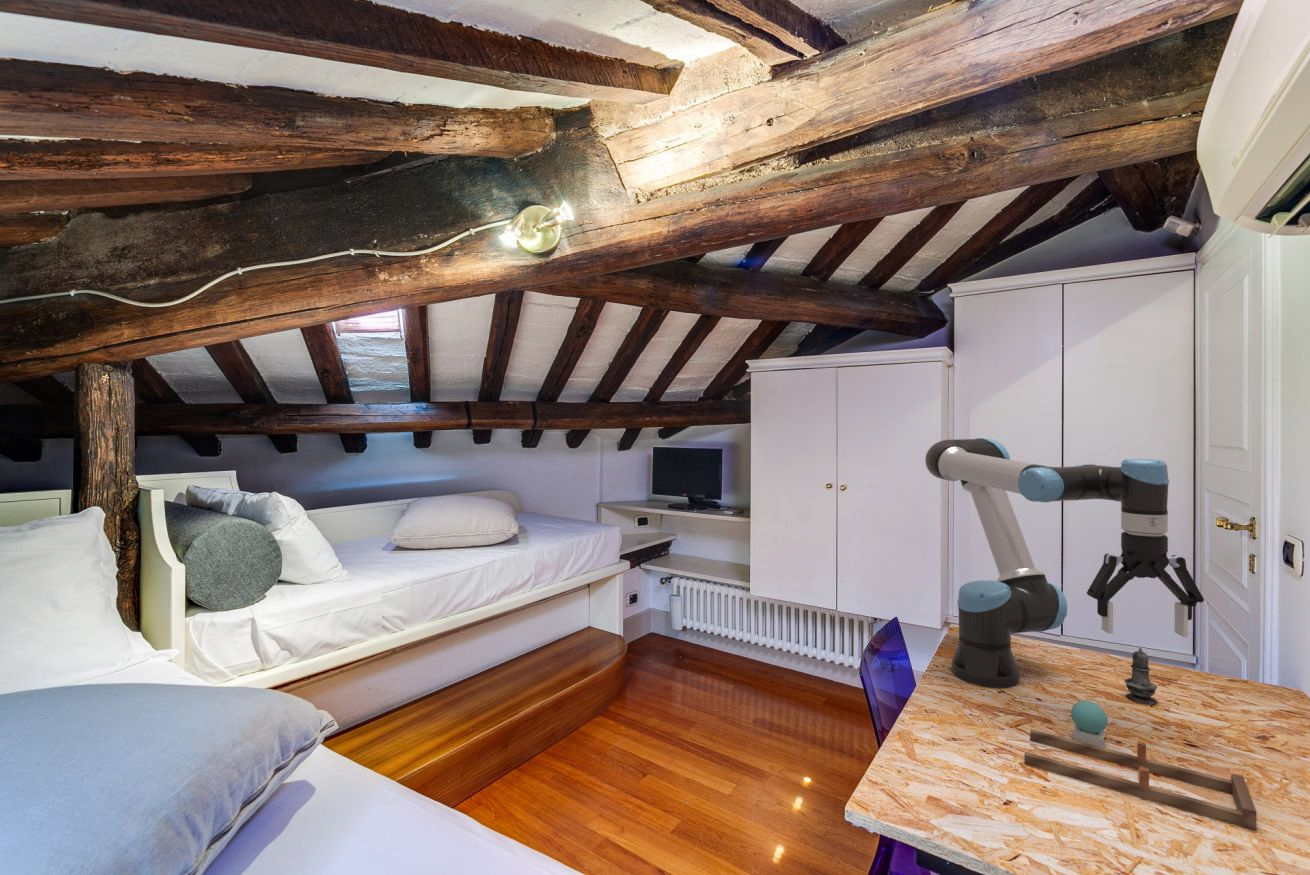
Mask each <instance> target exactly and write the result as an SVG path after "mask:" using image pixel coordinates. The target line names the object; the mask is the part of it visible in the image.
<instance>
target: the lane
mask: <svg viewBox="0 0 1310 875" xmlns="http://www.w3.org/2000/svg"><path fill="white" fill-rule="evenodd" d="M1029 741H1031V742H1033V743H1038V744H1042V745H1045V746H1049V747H1053V748H1057V749H1060V750H1061V749H1062V750H1065V751H1068V752H1072V753H1076V754H1078V755H1083V756H1087V757H1091V758H1095V759H1099V760H1102V761H1107V762H1110V763H1115V764H1117V765H1121V766H1125V767H1128V768H1132V769H1136V770H1137V775H1138V777H1137V778H1138V782H1136V781H1133V780H1130V779H1126V778H1123V777H1119V776H1114V775H1111V774H1109V773H1104V772H1101V771H1098V770H1093V769H1090V768H1086V767H1081V766H1078V765H1075V764H1072V763H1071V764H1070V763H1067V762H1063V761H1061V760H1057V759H1053V758H1050V757H1047V756H1043V755H1038V754H1034V753H1031V752H1028V751H1025V752H1024V755H1023V756H1024V760H1023V761H1024V762H1023V763H1024V765H1027V766H1031V767H1034V768H1037V769H1041V770H1045V771H1049V772H1052V773H1055V774H1059V775H1062V776H1066V777H1069V778H1071V779H1072V778H1073V779H1076V780H1080V781H1083V782H1087V783H1090V784H1094V785H1097V786H1100V787H1103V788H1107V789H1111V790H1114V791H1118V792H1122V793H1125V794H1129V795H1132V796H1134V797H1139V798H1142V799H1145V800H1149V801H1152V802H1156V803H1160V804H1164V805H1167V806H1170V807H1174V808H1177V809H1181V810H1185V811H1186V812H1187V811H1188V812H1191V813H1194V814H1198V815H1202V816H1205V817H1209V818H1211V819H1212V818H1213V819H1215V820H1219V821H1222V822H1225V823H1230V824H1232V825H1236V826H1239V827H1243V828H1247V829H1250V830H1253V831H1257V823H1258V822H1257V809H1256V806H1255V804H1254V800H1253V799H1252V798H1253V797H1252V795H1251V793H1250V790H1249V788H1248V785H1247V783H1246V780H1245V777H1244V775H1243V776H1242V775H1239V774H1236V773H1235V774H1234V773H1230V777H1231V778H1230V779H1228V778H1223V777H1220V776H1216V775H1212V774H1207V773H1204V772H1200V771H1196V770H1192V769H1190V768H1189V769H1188V768H1185V767H1181V766H1176V765H1173V764H1168V763H1165V762H1161V761H1157V760H1152V759H1149V758H1147V744H1146V742H1145V741H1141V740H1137V741H1136V742H1137V743H1136V745H1137V749H1136V750H1137V751H1136V752H1137V754H1136V755H1133V754H1129V753H1127V752H1122V751H1116V750H1114V749H1110V748H1106V747H1104V748H1102V747H1098V746H1094V745H1090V744H1087V743H1083V742H1079V741H1075V740H1074V739H1070V738H1066V737H1062V736H1058V735H1054V734H1050V733H1046V732H1042V731H1038V730H1035V729H1030V731H1029ZM1150 773H1151V774H1155V775H1160V776H1164V777H1166V778H1171V779H1175V780H1179V781H1182V782H1185V783H1190V784H1193V785H1197V786H1200V787H1205V788H1208V789H1213V790H1215V791H1220V792H1222V793H1224V792H1225V793H1228V794H1231V795H1232V797H1233V800H1234V803H1235V805H1236V808H1237V809H1235V808H1231V807H1228V806H1224V805H1220V804H1217V803H1212V802H1208V801H1205V800H1202V799H1198V798H1194V797H1192V796H1189V795H1183V794H1180V793H1177V792H1173V791H1170V790H1167V789H1166V790H1165V789H1162V788H1158V787H1155V786H1150Z"/></svg>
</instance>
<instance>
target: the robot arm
mask: <svg viewBox="0 0 1310 875" xmlns="http://www.w3.org/2000/svg"><path fill="white" fill-rule="evenodd" d="M924 458H925V460H924V461H925V466H926V468H927V471H928V472H929V473H930V475H931V476H934V477H935V478H937V479H940V480H944V481H950V482H957V481H960V484H961V486H962V490H964V491H966V492H969V493H970V495H971V497H972V500H973V503H974V506H975V509H976V511H977V514H978V518H979V520H980V523H981V525H982V529H983V531H984V534H985V538H986V539H987V543H988V545H989V549H990V552H991V554H992V557H993V560H994V562H995V565H996V569H997V571H998V573H999V575H998V576H999V577H998V578H997V580H982V579H981V580H973V581H970V582H966V583H964V584H962V585H961V586H960V587H959V590H958V599H957V606H958V607H957V608H958V643H957V647H956V649H955V651H954V655H953V657H952V660H951V671H952V672H951V673H952V674H954V676H956V677H958V678H959V679H961V680H963V681H965V682H968V683H970V684H974V685H977V686H982V687H986V688H996V689H997V688H999V689H1000V688H1001V689H1002V688H1010V687H1014V686H1017V685H1018V684H1019V683H1020V670H1019V668H1018V665H1017V662H1016V659H1015V657H1014V653H1013V652H1012V634H1021V633H1022V634H1023V633H1032V632H1040V633H1041V632H1045V631H1048V630H1053V629H1054V630H1055V629H1057V628H1059V627H1061V626H1062V625H1063V623H1064V622H1065V618H1067V616H1068V603H1067V598H1066V597H1065V595H1064V592H1063V591H1062V590H1061V589H1060V588H1058V586H1057V585H1055V584H1053V583H1050V582H1048V579H1047V577H1046V575H1045V573H1043V571H1042V572H1041V571H1040V570H1038V569H1037V568H1036V566H1035V564H1034V562H1033V559H1032V556H1031V553H1030V551H1029V548H1028V546H1027V542H1026V539H1025V538H1024V534H1023V532H1022V530H1021V527H1020V524H1019V522H1018V519H1017V516H1016V513H1015V511H1014V508H1013V506H1012V504H1011V500H1010V498H1009V496H1008V492H1011V493H1014V494H1019V495H1021V496H1022V497H1024V498H1025V499H1026V500H1028V502H1029V501H1030V502H1034V503H1035V502H1036V503H1037V502H1038V503H1052V502H1064V501H1065V502H1066V501H1083V500H1106V501H1115V502H1120V509H1121V510H1120V511H1121V512H1120V517H1121V518H1120V520H1121V521H1120V528H1121V530H1122V532H1121V534H1120V535H1121V536H1120V547H1121V554H1120V556H1119V555H1112V554H1110V553H1105V554H1104V556H1103V563H1102V565H1101V567H1100V568H1099V571H1098V572H1097V574H1096V576H1095V577H1094V579H1093V581H1092V583H1091V584H1090V586H1089V588H1088V590H1087V591H1086V594H1087V596H1089V597H1091V598H1093V599H1094V600H1096V603H1097V606H1096V607H1097V614H1098V615H1099V616H1100V617H1101V630H1103V631H1104V632H1105V633H1107V634H1109V635H1113V634H1114V603H1113V602H1111V601H1110V600H1111V599H1112V598H1113V597H1114V596H1115V595H1116V594H1117V593H1118V592H1119V591H1120V590H1121V589H1122V588H1123V587H1124V586H1125V585H1127V583H1128V582H1129V581H1131V580H1133V579H1134V578H1138V579H1141V578H1142V579H1145V578H1150V579H1156V578H1157V579H1158V580H1160V582H1162V584H1163V585H1164V586H1165V587H1166V588H1167V589H1168V590H1169V591H1170V592H1171V594H1173V595H1174V596H1175V597H1176V598H1177V599H1178V600H1179V601H1174V633H1175V634H1177V635H1179V636H1181V637H1182V638H1188V637H1189V635H1188V634H1189V630H1188V629H1189V621H1191V620H1192V619H1193V607H1196V606H1197V604H1198V603H1203V602H1204V600H1205V598H1204V597H1203V595H1202V594H1201V591H1200V589H1199V588H1198V585H1196V582H1195V581H1194V580H1193V576H1192V575H1191V573H1190V572H1189V570H1188V567H1187V562H1186V559H1185V558H1184V557H1181V556H1178V555H1176V554H1173V555H1170V556H1168V555H1167V553H1168V551H1169V550H1168V549H1169V538H1168V537H1169V536H1167V535H1166V534H1167V533H1168V532H1169V528H1168V526H1169V522H1168V518H1169V516H1168V515H1169V513H1168V512H1169V510H1168V498H1169V497H1168V496H1169V483H1170V479H1169V475H1168V474H1169V472H1168V465H1167V462H1165V461H1164V460H1161V459H1154V458H1152V459H1151V458H1149V459H1148V458H1124V459H1123V460H1122V461H1121V465H1120V466H1119V467H1118V466H1108V465H1097V464H1093V463H1092V464H1090V463H1089V464H1087V463H1086V464H1076V465H1075V466H1046V465H1040V464H1035V463H1030V462H1024V461H1018V460H1013V459H1011V457H1010V454H1009V452H1008V450H1007V448H1006V447H1005V445H1003V444H1002V443H1001V442H999V441H998V440H995V439H991V438H980V437H978V438H970V439H969V438H965V439H943V440H940V441H938V442H936V443H934V444H933V445H931V446H930V447H929V449H928V450H927V451H926V454H925V457H924ZM1007 491H1008V492H1007ZM1120 563H1121V564H1122V566H1121V568H1119V569H1118V570H1117V574H1116V575H1115V576H1114V577H1112V576H1113V574H1114V573H1115V571H1116V568H1117V566H1119V565H1120ZM1168 565H1169V566H1170V567H1172V569H1173V571H1174V573H1175V575H1176V576H1177V578H1178V580H1179V582H1180V583H1181V585H1182V587H1183V588H1182V587H1181V586H1180V585H1179V584H1178V583H1177V582H1176V581H1175V580H1174V579H1173V578H1172V576H1171V575H1170V574H1169V573H1168V571H1166V570H1165V569H1166V568H1167V567H1168ZM1111 577H1112V578H1111ZM1110 579H1111V580H1110Z"/></svg>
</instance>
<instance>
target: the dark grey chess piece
mask: <svg viewBox="0 0 1310 875" xmlns="http://www.w3.org/2000/svg"><path fill="white" fill-rule="evenodd" d="M1130 668H1131V670H1132V671H1131V677H1130V678H1125V679H1124V683H1125V685H1126V688H1127V690H1128V691H1129V693H1126V695H1125V697H1126V698H1127V699H1128V700H1130V701H1132V702H1134V703H1138V704H1143V705H1155V704H1156V699H1154V698H1153V697H1152V696H1154V694H1156V690H1157V689H1158V686H1157V685H1156V684H1155V683H1153V682H1151V681H1150V671H1151V668H1150V667H1149V655H1148V654H1147V653H1146V652H1144V651H1143V649H1142V648H1141V647H1139V648H1138V650H1136V651H1134V652H1132V664H1131V665H1130Z"/></svg>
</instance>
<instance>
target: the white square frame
mask: <svg viewBox="0 0 1310 875" xmlns="http://www.w3.org/2000/svg"><path fill="white" fill-rule="evenodd" d="M1073 740H1075V741H1079V742H1083V743H1087V744H1090V745H1094V746H1098V747H1102V748H1105V729H1104V730H1103V731H1101V732H1099V733H1089V732H1086V731H1083V730H1082V729H1080V728H1079V727H1078V726H1077V725H1076V724H1075V723H1074V729H1073Z"/></svg>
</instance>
